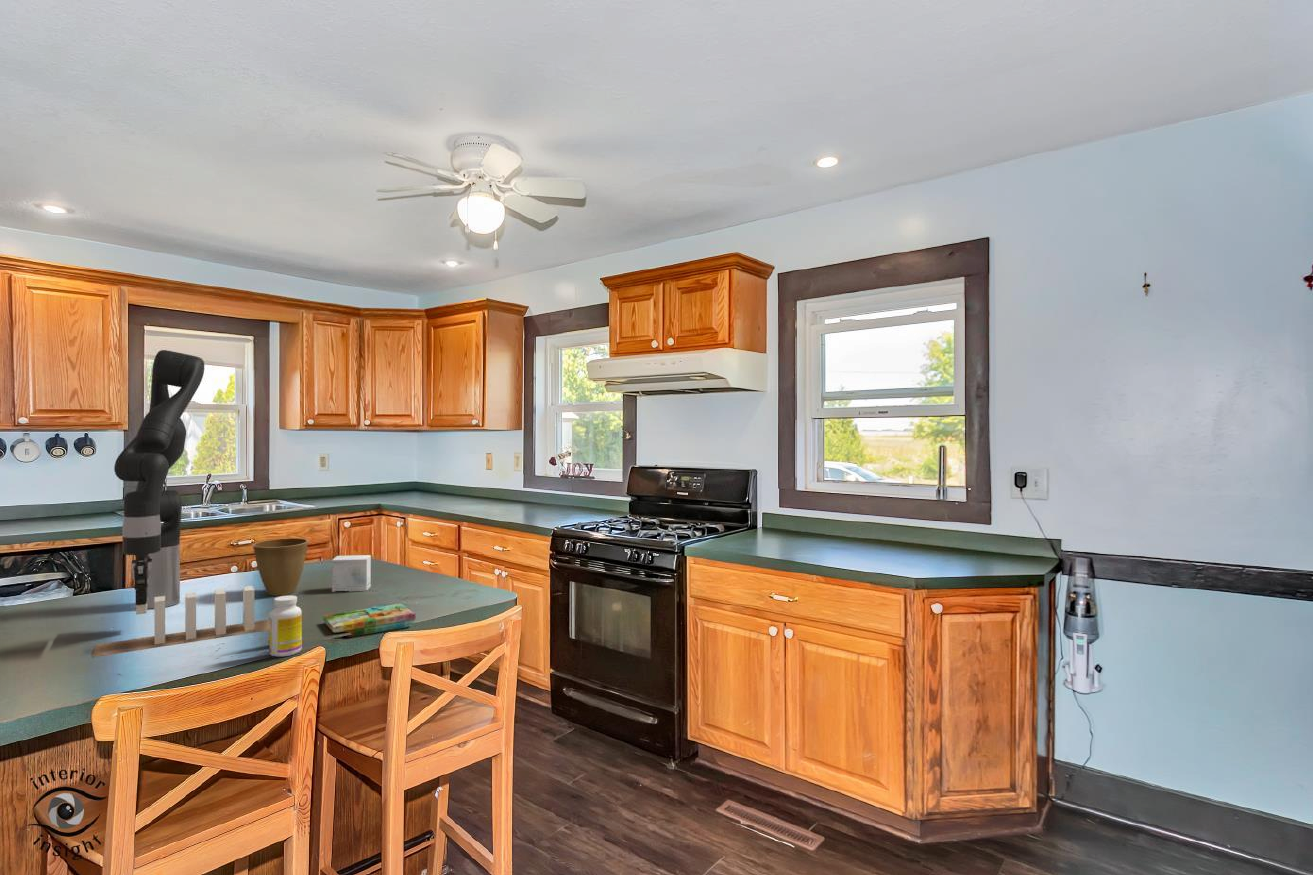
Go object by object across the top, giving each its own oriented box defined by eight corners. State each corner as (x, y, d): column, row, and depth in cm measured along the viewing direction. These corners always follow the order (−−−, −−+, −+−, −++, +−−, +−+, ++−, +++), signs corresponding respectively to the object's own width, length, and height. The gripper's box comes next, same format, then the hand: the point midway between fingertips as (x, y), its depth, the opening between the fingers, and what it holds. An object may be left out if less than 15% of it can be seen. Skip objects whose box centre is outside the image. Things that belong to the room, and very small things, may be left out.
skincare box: (331, 592, 210) (331, 559, 209) (336, 587, 216) (336, 555, 216) (366, 591, 212) (366, 558, 211) (371, 586, 218) (371, 554, 218)
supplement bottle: (308, 650, 157) (308, 595, 157) (284, 659, 151) (284, 602, 151) (286, 646, 159) (286, 593, 159) (262, 655, 153) (262, 600, 153)
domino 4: (216, 635, 162) (216, 594, 162) (214, 630, 166) (214, 590, 166) (225, 633, 163) (225, 593, 163) (224, 628, 167) (224, 589, 167)
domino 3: (186, 639, 159) (185, 598, 158) (185, 634, 163) (185, 593, 162) (196, 638, 160) (196, 596, 160) (195, 632, 164) (195, 592, 164)
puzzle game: (415, 610, 175) (332, 623, 163) (415, 628, 175) (332, 642, 163) (402, 600, 185) (322, 612, 173) (402, 617, 185) (322, 630, 173)
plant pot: (267, 587, 214) (267, 538, 214) (315, 587, 216) (315, 537, 216) (243, 599, 200) (243, 546, 199) (295, 599, 201) (295, 546, 201)
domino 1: (136, 614, 163) (136, 573, 162) (137, 609, 167) (137, 569, 166) (146, 613, 164) (146, 572, 164) (147, 608, 168) (147, 568, 168)
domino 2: (154, 644, 155) (154, 601, 155) (154, 638, 159) (154, 597, 159) (165, 642, 156) (165, 600, 156) (165, 637, 160) (165, 595, 160)
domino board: (91, 663, 147) (91, 657, 146) (95, 651, 155) (95, 644, 155) (278, 634, 168) (278, 628, 168) (273, 624, 176) (273, 619, 176)
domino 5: (245, 630, 166) (245, 590, 166) (243, 625, 170) (243, 586, 170) (254, 629, 167) (254, 589, 167) (252, 624, 171) (252, 585, 171)
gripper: (160, 536, 161) (159, 606, 162) (161, 528, 173) (161, 593, 173) (120, 539, 157) (120, 611, 157) (124, 530, 168) (124, 597, 169)
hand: (141, 601), depth 165 cm, fingers closed on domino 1, 5 cm apart
